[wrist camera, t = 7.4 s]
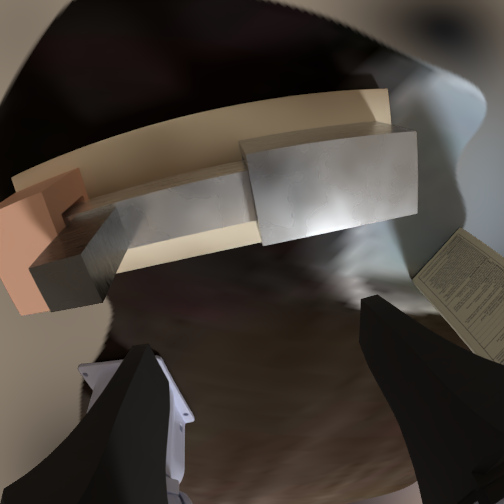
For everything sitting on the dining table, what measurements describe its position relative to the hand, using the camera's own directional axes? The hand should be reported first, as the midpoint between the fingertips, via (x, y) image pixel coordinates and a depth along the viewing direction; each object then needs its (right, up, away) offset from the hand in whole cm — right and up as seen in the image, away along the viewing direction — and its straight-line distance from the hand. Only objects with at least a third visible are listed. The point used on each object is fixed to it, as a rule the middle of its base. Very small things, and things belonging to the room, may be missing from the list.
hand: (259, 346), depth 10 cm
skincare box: (+16, +2, +13) cm, 20 cm away
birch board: (-3, +7, +8) cm, 11 cm away
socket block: (-12, +5, +7) cm, 14 cm away
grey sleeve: (+3, +8, +8) cm, 12 cm away
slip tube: (-5, +6, +6) cm, 10 cm away
